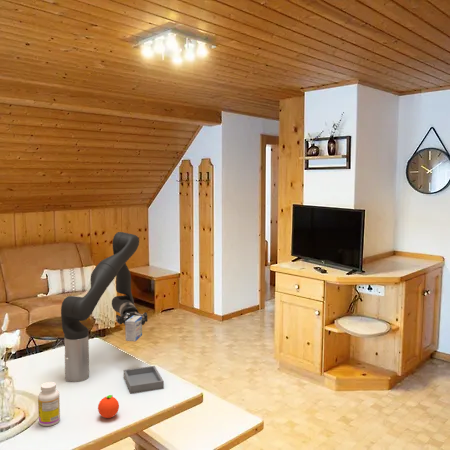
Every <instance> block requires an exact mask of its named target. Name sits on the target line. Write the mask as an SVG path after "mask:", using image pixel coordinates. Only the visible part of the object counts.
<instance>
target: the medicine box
mask: <svg viewBox="0 0 450 450" xmlns="http://www.w3.org/2000/svg"><path fill="white" fill-rule="evenodd" d="M124 326H125V327H124V328H125V341H127V342H137V341H138V340H139V339H140V338H141V337H142V336H143V325H142V316H132V317H130V318H129V319H128V320H126V321H125V324H124Z"/></svg>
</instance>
